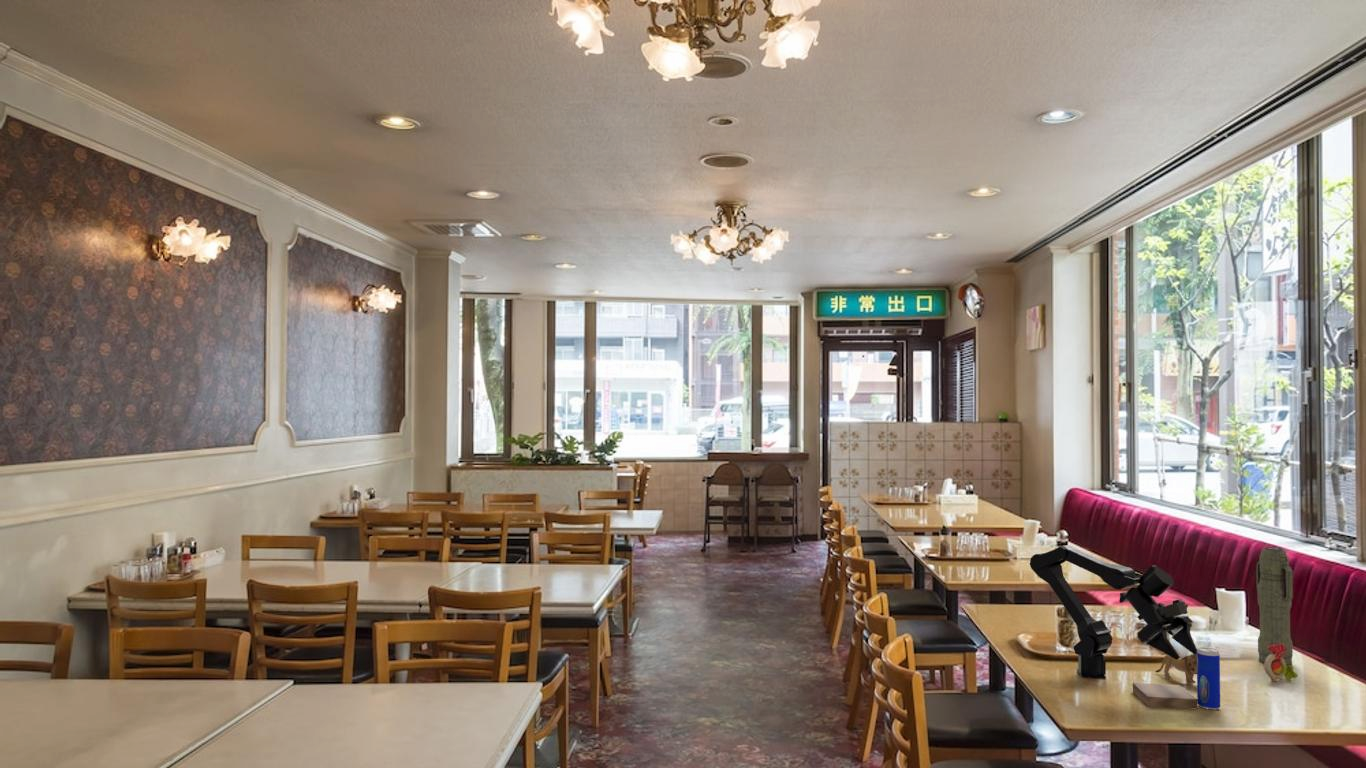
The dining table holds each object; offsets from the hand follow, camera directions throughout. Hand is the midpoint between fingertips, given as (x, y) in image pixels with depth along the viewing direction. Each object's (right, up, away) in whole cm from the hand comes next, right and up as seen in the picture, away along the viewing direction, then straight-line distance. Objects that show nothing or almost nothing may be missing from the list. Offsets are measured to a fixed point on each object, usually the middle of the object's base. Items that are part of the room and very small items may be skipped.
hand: (1187, 656), depth 240 cm
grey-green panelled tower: (+48, -13, +37) cm, 62 cm away
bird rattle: (+37, -13, +18) cm, 43 cm away
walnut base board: (-6, -12, +1) cm, 13 cm away
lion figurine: (+9, -13, +18) cm, 24 cm away
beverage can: (+3, -12, -5) cm, 13 cm away
